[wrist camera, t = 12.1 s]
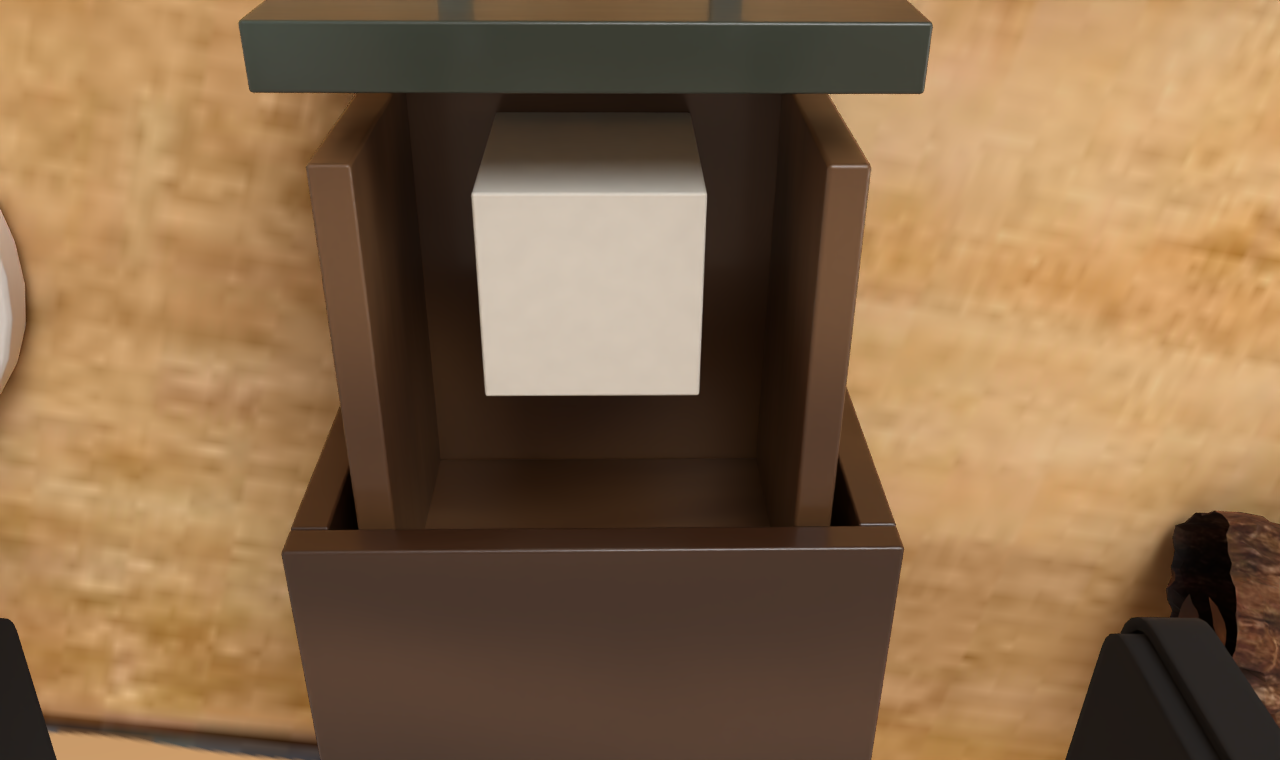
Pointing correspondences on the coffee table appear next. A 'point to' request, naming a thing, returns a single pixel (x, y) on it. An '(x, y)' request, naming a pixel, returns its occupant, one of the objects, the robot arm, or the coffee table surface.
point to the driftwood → (1233, 591)
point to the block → (590, 254)
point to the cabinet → (595, 631)
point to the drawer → (446, 264)
